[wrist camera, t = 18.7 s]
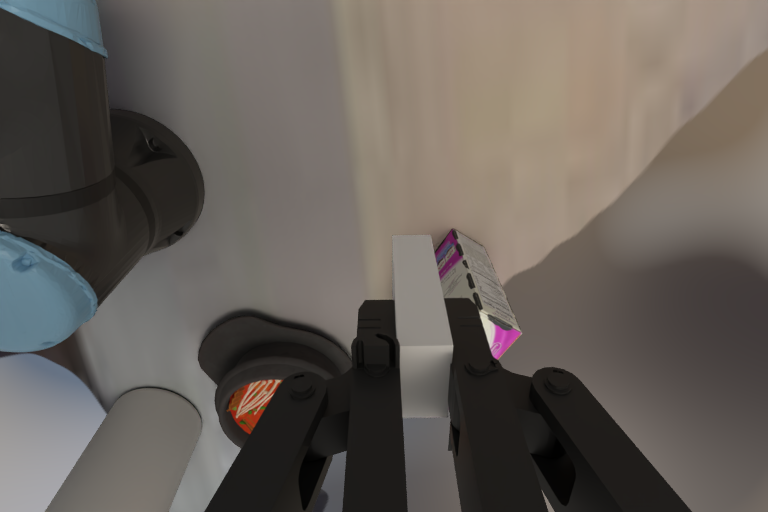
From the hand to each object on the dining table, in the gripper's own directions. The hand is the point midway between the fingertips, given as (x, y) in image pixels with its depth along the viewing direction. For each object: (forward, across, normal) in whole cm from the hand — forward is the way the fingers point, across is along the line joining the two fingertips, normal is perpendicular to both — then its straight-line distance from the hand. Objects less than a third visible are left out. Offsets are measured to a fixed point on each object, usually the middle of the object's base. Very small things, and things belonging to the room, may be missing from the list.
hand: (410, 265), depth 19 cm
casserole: (+33, -14, -36) cm, 51 cm away
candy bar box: (+33, +6, -20) cm, 39 cm away
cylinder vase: (+33, -34, -44) cm, 64 cm away
